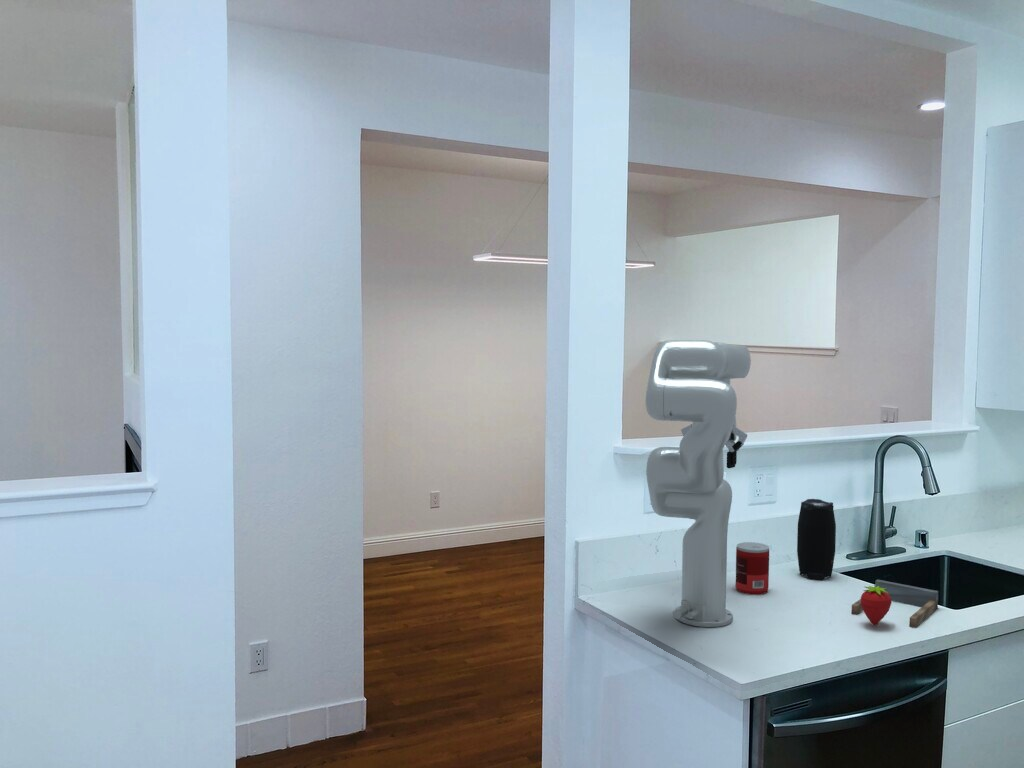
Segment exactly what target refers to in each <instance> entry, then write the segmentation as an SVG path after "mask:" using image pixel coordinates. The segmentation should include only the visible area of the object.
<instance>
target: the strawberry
mask: <svg viewBox="0 0 1024 768" xmlns="http://www.w3.org/2000/svg"><path fill="white" fill-rule="evenodd" d="M876 584H877V583H876ZM876 584H874V585H873V586H872V585H871V586H870V585H869V586H864V588H866V589H865V590H863V593H862V594H861V597H860V599H861V600H860V599H859V600H860V601H861V606H862V609H863V611H862V612H863V613H864V614H865V616H866V618H867V619H868V620H869V621H868V622H870V624H871V625H872V626H877V625H879V623H880V622H881V621H882V620H883V619H884V617H885V616H886V615H887V614H888V612H890V608H891V606H892V602H893V601H891V597H890V595H889V594H888V592H886V591H885V588H879V586H877V587H875V585H876Z"/></svg>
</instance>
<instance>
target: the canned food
mask: <svg viewBox="0 0 1024 768" xmlns="http://www.w3.org/2000/svg"><path fill="white" fill-rule="evenodd" d="M735 549H736V550H735V551H736V552H735V588H736V590H737V592H740V593H741V594H746V595H751V596H755V595H756V596H757V595H758V596H759V595H765V594H766V593H767V592H768V590H769V584H770V583H769V581H770V579H769V578H770V577H769V575H770V546H769V545H767V544H764V543H761V542H753V541H751V542H750V541H747V542H746V541H745V542H740V543H737V544H736V548H735Z"/></svg>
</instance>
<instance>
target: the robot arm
mask: <svg viewBox="0 0 1024 768" xmlns="http://www.w3.org/2000/svg"><path fill="white" fill-rule="evenodd" d="M751 361H752V360H751V353H750V350H749V348H748V346H746V345H743V344H742V345H741V344H732V343H724V342H716V341H710V340H704V339H703V340H702V339H701V340H694V339H693V340H690V339H689V340H687V339H685V340H681V339H680V340H678V339H677V340H674V339H671V340H670V339H669V340H668V339H667V340H664V341H662V342H661V343H660V344H659V345H658V346H657V347H656V349H655V351H654V353H653V357H652V361H651V364H650V371H649V377H648V382H647V387H646V393H645V408H646V409H645V410H646V412H647V414H648V415H649V416H650V418H652V419H653V420H656V421H663V422H665V421H667V422H690V423H691V422H692V424H689V425H687V426H686V427H683V428H682V429H681V430H680V431H681V432H680V433H681V434H682V438H681V440H680V442H679V447H677V446H676V447H675V446H660V447H656V448H654V449H653V450H651V452H650V453H649V455H648V458H647V462H646V467H645V468H646V469H645V471H646V472H645V473H646V481H647V482H646V483H647V489H648V493H649V494H648V495H649V498H650V504H651V508H652V510H653V512H654V513H655V514H657V515H658V516H660V517H666V518H679V519H690V520H694V523H692V524H691V526H689V528H688V529H687V530H686V531H685V532H684V535H683V537H682V551H681V552H682V554H681V555H682V558H681V561H682V564H681V568H682V569H681V601H680V605H678V606H677V607H676V608H675V609H674V610H673V612H672V614H673V618H675V619H676V620H678V621H679V622H681V623H683V624H686V625H690V626H695V627H700V628H701V627H702V628H717V627H719V628H720V627H725V626H728V625H729V624H731V623H732V622H733V619H734V615H733V613H732V612H731V611H730V610H729V609H727V605H726V604H727V570H728V569H727V564H728V562H727V559H728V556H727V555H728V552H727V551H728V532H729V531H728V528H729V521H730V514H731V506H732V502H733V491H732V487H731V486H732V485H731V484H730V483H729V482H728V481H727V480H726V479H724V476H725V474H724V473H725V469H724V465H725V464H724V448H725V447H726V449H728V451H727V452H726V468H727V469H734V468H736V465H737V456H738V455H737V453H738V451H739V450H740V448H742V447H743V446H744V444H745V442H746V440H747V438H748V434H747V433H746V432H744V431H742V430H741V429H739V428H738V427H737V417H736V415H737V406H738V401H737V394H736V390H735V389H734V388H733V386H732V385H731V380H732V379H745V378H746V377H747V376H748V375H749V372H750V371H751V370H750V369H751V365H752V364H751V363H752V362H751ZM737 437H738V439H737ZM736 440H737V441H736ZM735 441H736V442H735Z"/></svg>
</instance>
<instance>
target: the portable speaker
mask: <svg viewBox="0 0 1024 768" xmlns="http://www.w3.org/2000/svg"><path fill="white" fill-rule="evenodd" d="M834 506H835V505H834V502H830V501H825V500H823V499H820V498H807V499H806V500H803V501H801V503H800V509H799V514H798V520H797V532H796V533H797V540H796V553H797V562H798V563H797V564H798V572H799V575H805V576H806V578H808V579H809V580H812V581H825V579H826V578H832V574H833V569H834V563H835V562H834V561H835V557H836V556H835V555H836V540H837V539H836V538H837V537H836V533H837V532H836V531H837V530H836V529H837V524H836V517H835V510H834V508H835V507H834Z"/></svg>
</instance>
